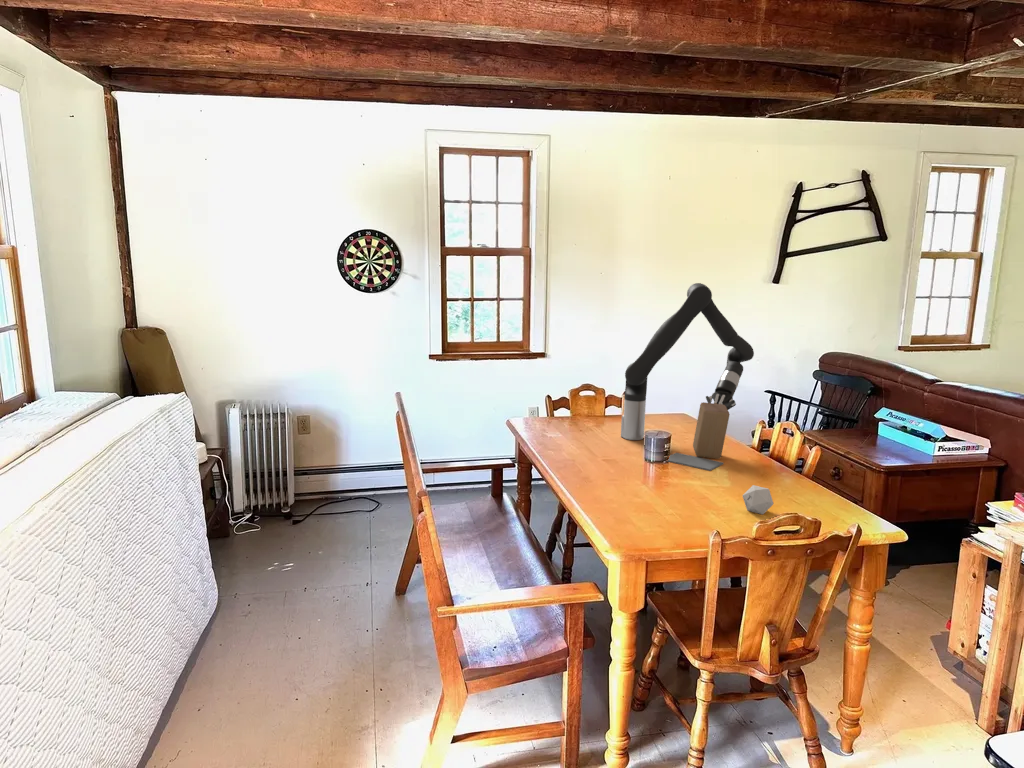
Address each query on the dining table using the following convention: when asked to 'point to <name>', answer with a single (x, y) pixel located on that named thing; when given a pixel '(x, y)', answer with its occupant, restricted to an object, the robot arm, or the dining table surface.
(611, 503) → the dining table surface
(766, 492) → the die
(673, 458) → the mat
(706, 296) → the robot arm
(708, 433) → the wooden block
